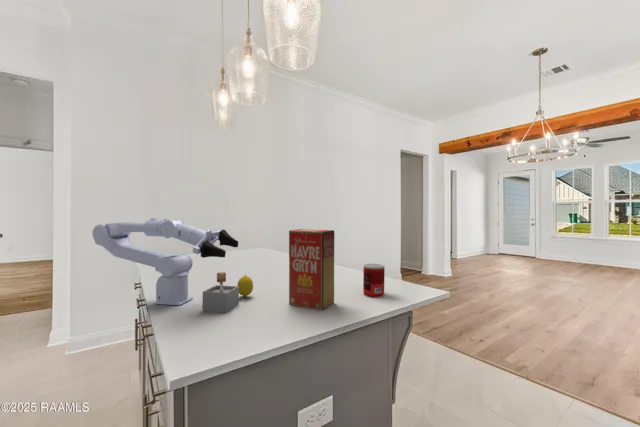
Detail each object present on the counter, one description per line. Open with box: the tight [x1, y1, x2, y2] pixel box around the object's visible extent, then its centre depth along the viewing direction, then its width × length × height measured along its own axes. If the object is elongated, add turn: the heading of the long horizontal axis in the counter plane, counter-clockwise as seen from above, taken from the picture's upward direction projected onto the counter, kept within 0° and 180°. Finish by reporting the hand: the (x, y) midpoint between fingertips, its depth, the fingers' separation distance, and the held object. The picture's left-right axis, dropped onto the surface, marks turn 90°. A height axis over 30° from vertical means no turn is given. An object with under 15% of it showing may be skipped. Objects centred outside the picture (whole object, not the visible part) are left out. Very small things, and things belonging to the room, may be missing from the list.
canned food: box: [362, 263, 385, 298], centre depth 111 cm, size 8×8×11 cm
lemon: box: [236, 274, 254, 298], centre depth 106 cm, size 6×6×8 cm
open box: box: [202, 284, 240, 314], centre depth 95 cm, size 8×8×6 cm
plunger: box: [212, 271, 232, 293], centre depth 95 cm, size 6×6×7 cm
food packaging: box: [288, 228, 335, 311], centre depth 99 cm, size 13×9×25 cm
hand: (231, 249), depth 97 cm, fingers open, 7 cm apart
